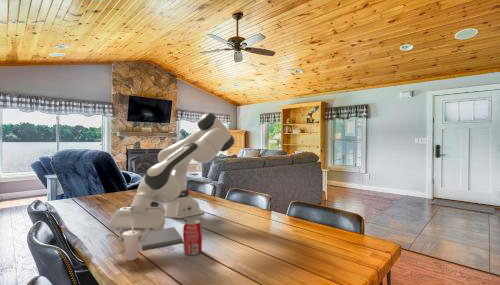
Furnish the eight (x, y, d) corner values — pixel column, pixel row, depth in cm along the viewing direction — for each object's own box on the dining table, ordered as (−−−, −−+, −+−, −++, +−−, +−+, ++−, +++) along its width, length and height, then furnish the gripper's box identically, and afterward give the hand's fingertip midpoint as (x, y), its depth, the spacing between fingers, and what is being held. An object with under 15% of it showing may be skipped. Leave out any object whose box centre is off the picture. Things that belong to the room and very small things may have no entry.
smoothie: (144, 253, 98) (143, 217, 98) (137, 262, 92) (137, 222, 91) (127, 254, 98) (126, 217, 98) (119, 262, 91) (118, 223, 91)
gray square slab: (174, 230, 124) (174, 227, 124) (182, 241, 110) (182, 238, 110) (138, 236, 116) (137, 232, 116) (141, 249, 102) (141, 245, 102)
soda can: (194, 246, 105) (194, 217, 104) (205, 251, 100) (205, 221, 100) (179, 252, 99) (179, 221, 99) (191, 258, 95) (191, 225, 94)
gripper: (114, 203, 102) (99, 237, 92) (165, 203, 101) (156, 237, 92) (120, 211, 106) (106, 244, 97) (169, 211, 106) (160, 245, 96)
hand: (131, 241), depth 94 cm, fingers closed on smoothie, 6 cm apart
